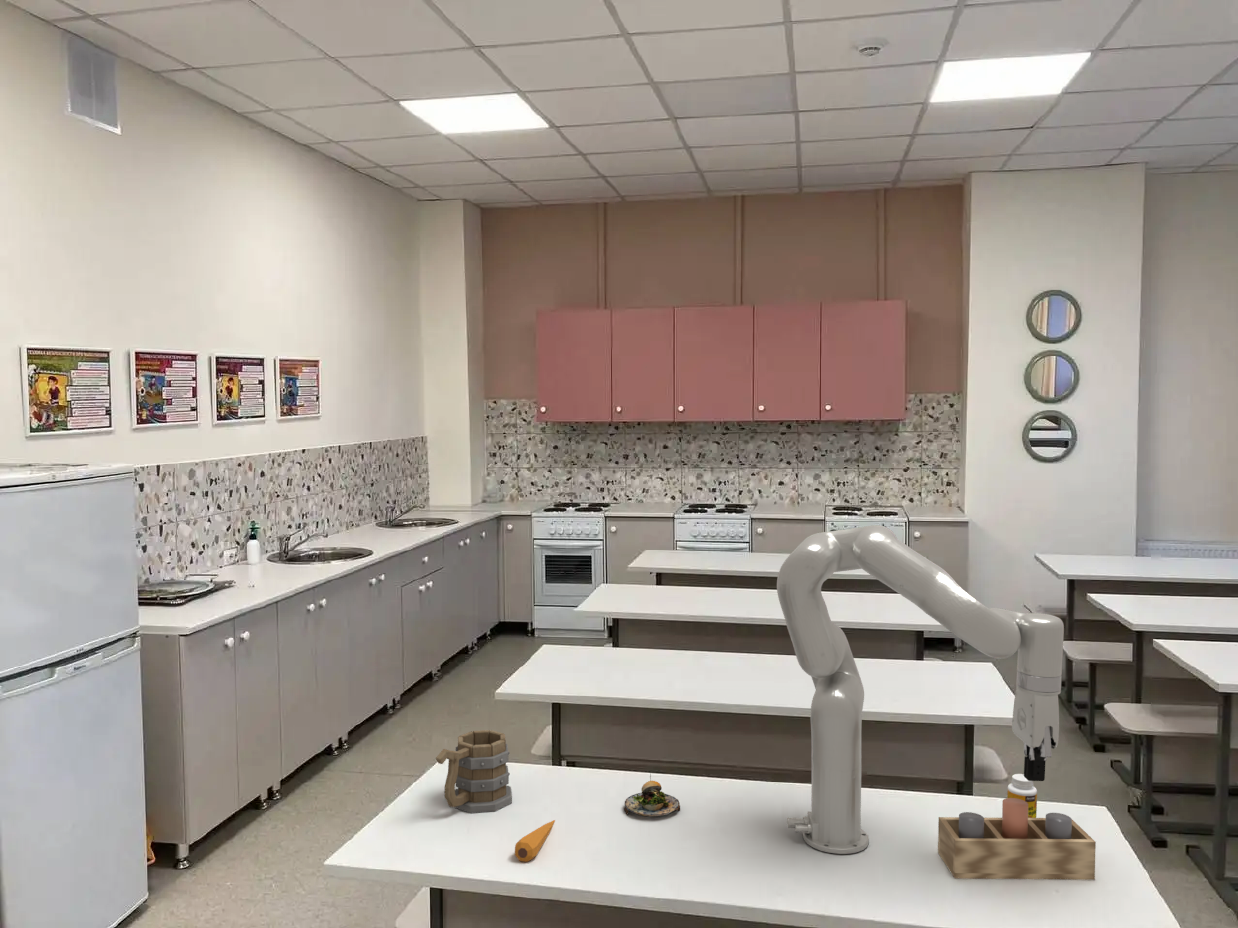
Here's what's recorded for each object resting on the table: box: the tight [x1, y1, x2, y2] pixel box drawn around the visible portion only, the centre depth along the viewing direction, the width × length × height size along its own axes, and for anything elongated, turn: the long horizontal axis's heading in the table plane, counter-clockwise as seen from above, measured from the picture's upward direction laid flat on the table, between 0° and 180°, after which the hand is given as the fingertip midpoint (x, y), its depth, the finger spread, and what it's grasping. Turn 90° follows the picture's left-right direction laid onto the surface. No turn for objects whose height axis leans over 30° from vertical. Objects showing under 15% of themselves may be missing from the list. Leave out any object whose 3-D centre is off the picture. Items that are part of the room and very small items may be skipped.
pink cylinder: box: [1001, 798, 1028, 839], centre depth 178 cm, size 4×4×7 cm
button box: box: [937, 816, 1097, 881], centre depth 178 cm, size 25×10×7 cm, turn 89°
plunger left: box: [958, 811, 985, 839], centre depth 178 cm, size 4×4×7 cm
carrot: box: [514, 819, 556, 863], centre depth 190 cm, size 20×4×4 cm, turn 166°
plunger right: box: [1045, 812, 1073, 839], centre depth 178 cm, size 4×4×7 cm
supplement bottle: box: [1007, 773, 1038, 818], centre depth 195 cm, size 6×6×10 cm
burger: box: [623, 773, 681, 817], centre depth 204 cm, size 12×12×8 cm
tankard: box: [435, 729, 513, 814], centre depth 205 cm, size 20×13×15 cm, turn 144°
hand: (1034, 778), depth 177 cm, fingers closed
